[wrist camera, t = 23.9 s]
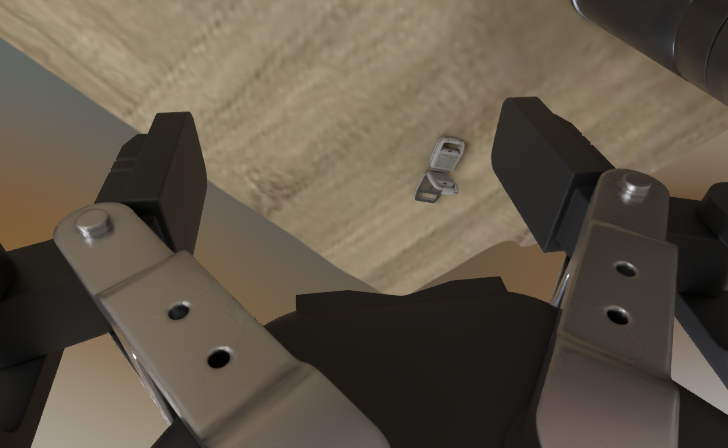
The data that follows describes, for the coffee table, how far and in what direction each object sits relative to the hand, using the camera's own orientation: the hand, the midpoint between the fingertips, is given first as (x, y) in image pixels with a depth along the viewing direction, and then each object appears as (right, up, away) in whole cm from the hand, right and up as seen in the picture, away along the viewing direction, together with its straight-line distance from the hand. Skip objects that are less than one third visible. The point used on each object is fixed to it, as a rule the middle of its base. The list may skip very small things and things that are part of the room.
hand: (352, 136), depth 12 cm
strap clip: (+8, +4, +39) cm, 40 cm away
